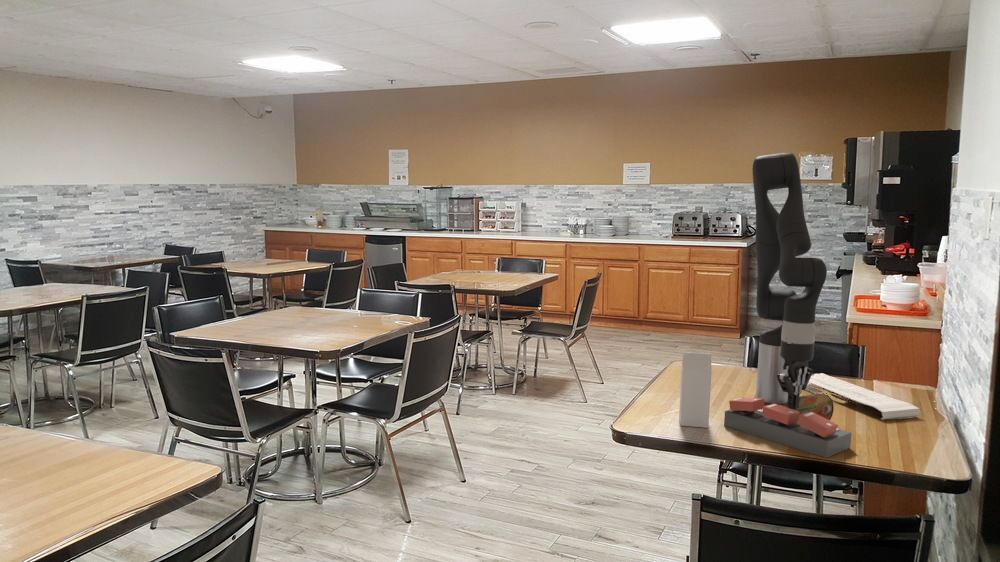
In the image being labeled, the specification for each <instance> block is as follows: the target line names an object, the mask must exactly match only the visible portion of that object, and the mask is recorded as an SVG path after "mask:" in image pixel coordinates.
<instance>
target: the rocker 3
mask: <svg viewBox="0 0 1000 562" xmlns="http://www.w3.org/2000/svg"><path fill="white" fill-rule="evenodd" d="M797 424H799V425H801V426H803V427H804V428H806V429H808V430H810V431H812V432H814V433H816V434H818V435H820V436H822V437H827V436H830V435H832V434H835V432H836V429H837V428H838V425H839V424H838V423H836V422H833V421H832V420H831V419H830V420H828V419H826V418H824V417H822V416H820V415H818V414H815V413H813V412H811V411H810V412H807V413H804V414H801V415H800V416H799V420H798V423H797Z"/></svg>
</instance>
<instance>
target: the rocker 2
mask: <svg viewBox="0 0 1000 562" xmlns="http://www.w3.org/2000/svg"><path fill="white" fill-rule="evenodd" d="M799 415H800V412H799V411H796V410H793V409H790V408H788V407H787V406H784V405H782V404H775V403H774V404H770V403H769V404H768V405H765V406H764V407H763V412H762V416H764V417H767V418H770V419H773V420H775V421H778V422H781V423H784V424H787V425H788V424H791V423H794V422H797V421H798V420H799Z"/></svg>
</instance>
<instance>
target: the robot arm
mask: <svg viewBox="0 0 1000 562" xmlns="http://www.w3.org/2000/svg"><path fill="white" fill-rule="evenodd" d="M797 159H798V158H797V157H796V155H795V154H794V153H792V152H782V153H781V152H780V153H772V154H765V155H759V156H756V157H755V158H754V159H753V163H752V170H751V171H752V183H753V193H754V203H755V204H754V205H755V251H756V267H757V268H756V269H757V277H756V278H757V279H756V280H757V283H756V301H755V302H756V303H755V304H756V307H755V308H756V313H757V314H756V315H757V316H758V317H759V318H760V319H764V320H769V321H771V320H772V321H777V322H778V321H780V322H782V324H781V325H779V326H778V327H776V328H771V329H768V330H763V331H761V332H760V334H759V342H758V359H757V361H758V362H757V372H756V387H755V398H761V399H764V403H765V404H769V405H770V404H774V403H775V404H778V405H784V404H785V405H786V404H787V405H786V407H787V408H790V409H793V410H795V409H798V408H799V397H800V396H801V394H802V391H806V390H805V389H806V387H807V384H808V382H809V380H810V378H811V376H813V373H814V369H813V368H809V362H811V361H813V359H814V353H815V337H816V327H815V325H816V324H815V323H816V312H817V311H816V309H817V305H818V302H819V298H820V296H821V295H820V294H821V292H822V289H823V287H824V285H825V282H826V278H827V273H828V270H827V265H826V263H825V262H824V260H822V258H818V257H800V256H802V255H805V254H806V253H809V251H810V250H811V247H812V241H811V237H810V233H809V230H808V229H809V228H808V226H807V222H806V218H805V210H804V209H805V208H804V199H803V197H804V196H803V190H802V182H801V174H800V173H801V172H800V167H799V163H798V160H797ZM780 189H781V190H782V189H787V190H788V193H787V197H786V201H785V202H784V205H782V206H783V207H782V208H781V210H780V212H778V211H777V210H776V208H775V207H774V205H773V204H772V202H771V200H770V198H769V196H768V192H769V191H772V190H775V191H776V190H780ZM777 272H778V277H779V280H780V282H781V283H782V284H783V285H785V286H786V287H791V288H793V287H794V288H795V287H797V288H798V287H800V288H801V287H802V288H803V287H804V289H803V291H802V292H801V293H799V294H797V292H796V291H795V290H793V289H786V288H772V287H770V285H771V281H772V280H773V278H774V277H775V275H776V274H777Z"/></svg>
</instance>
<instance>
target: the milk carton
mask: <svg viewBox="0 0 1000 562" xmlns="http://www.w3.org/2000/svg"><path fill="white" fill-rule="evenodd" d="M682 355H683V356H682V361H681V362H682V363H681V376H680V393H679V394H680V395H679V412H678V413H679V414H678V419H679V425H680V426H682V427H692V428H693V427H694V428H706V429H707V428H709V421H710V404H711V388H712V386H711V385H712V353H705V352H704V353H703V352H689V351H688V352H687V351H683V353H682Z"/></svg>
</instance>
